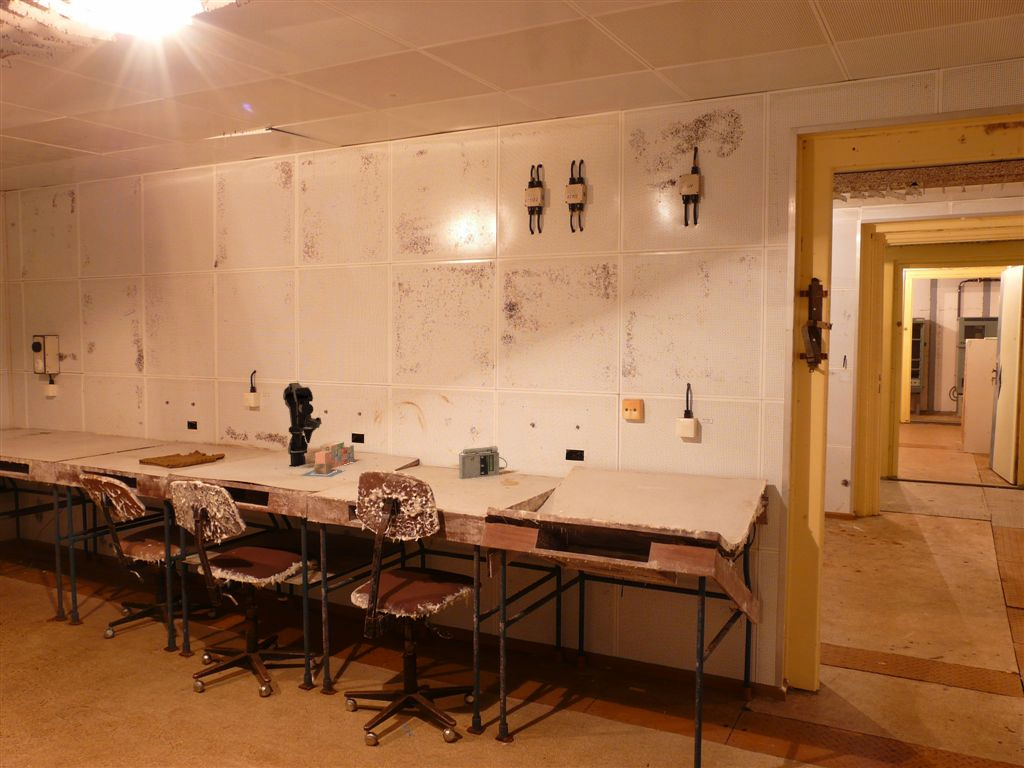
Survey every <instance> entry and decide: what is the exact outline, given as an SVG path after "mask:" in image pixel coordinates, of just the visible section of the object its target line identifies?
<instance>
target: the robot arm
mask: <svg viewBox="0 0 1024 768" xmlns="http://www.w3.org/2000/svg"><path fill="white" fill-rule="evenodd" d="M282 398H283V400H284V403H285V404H284V405H286V407H287V408H288V413H289V419H290V427H288V433H289V434H290V435H291V437H290V440H289V443H288V445H287V446H288V447H287V453H288V455H290V458H289V459H290V464H289V465H288V466H289V467H300V466H301V467H302V466H304V465H306V464H307V463H306V462H307V461H306V456H305V454H307V453H308V446H309V444H310V443H311V439H312V435H313V433H314V432H315V431H316V429H319V428H320V425H322V418H321V417H320V416H317V417H316V418H313V417H312V415H311V414H312V413H313V412H314V406H313V404H311V403H310V402H313V400H314V396H313V392H312V390H311V389H310V387H309V386H302V385H300V382H290V383H288V386H287V387H286V388H285V389H284V390H283V394H282Z"/></svg>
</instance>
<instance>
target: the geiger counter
mask: <svg viewBox="0 0 1024 768" xmlns="http://www.w3.org/2000/svg"><path fill="white" fill-rule="evenodd" d="M498 448H499V447H498V446H497V445H491V446H487V447H486V446H485V447H475V448H465V449H464V448H463V450H462V451H461V452H460V453H459V454H458V471H459V472H458V473H459V475H458V477H459V479H461V480H466V479H467V480H468V479H474V478H475V479H476V478H483V477H493V476H500V470H501V471H502V470H506V468H507V467H508V462H507V461H506V460H505V459H504V457H500V452H499V451H498ZM462 453H463V454H462ZM500 459H501V460H503V461H504V462H505V466H500Z"/></svg>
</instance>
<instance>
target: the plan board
mask: <svg viewBox="0 0 1024 768" xmlns="http://www.w3.org/2000/svg"><path fill="white" fill-rule="evenodd" d="M332 470H333V471H332V472H331V473H328V474H315V471H314V469H313V470H310V471H308V472H306V473H304V474H303V473H302V474H300V475H299V476H300V477H317V478H318V477H321V478H322V477H323V478H333V477H334V476H337V475H340V474H342V473H343V472H346V471H347V470H344V471H342V470H343V469H342V470H341V469H336V470H337V472H336V471H334V470H335V469H332Z"/></svg>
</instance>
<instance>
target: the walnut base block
mask: <svg viewBox="0 0 1024 768" xmlns="http://www.w3.org/2000/svg"><path fill="white" fill-rule="evenodd" d="M313 464H314V465H313V466H314V468H313V470H314V471H315V474H328V473H331V472H332V470H333V468H332V462H329V463H326V464H317V463H316V462H315V463H313Z"/></svg>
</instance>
